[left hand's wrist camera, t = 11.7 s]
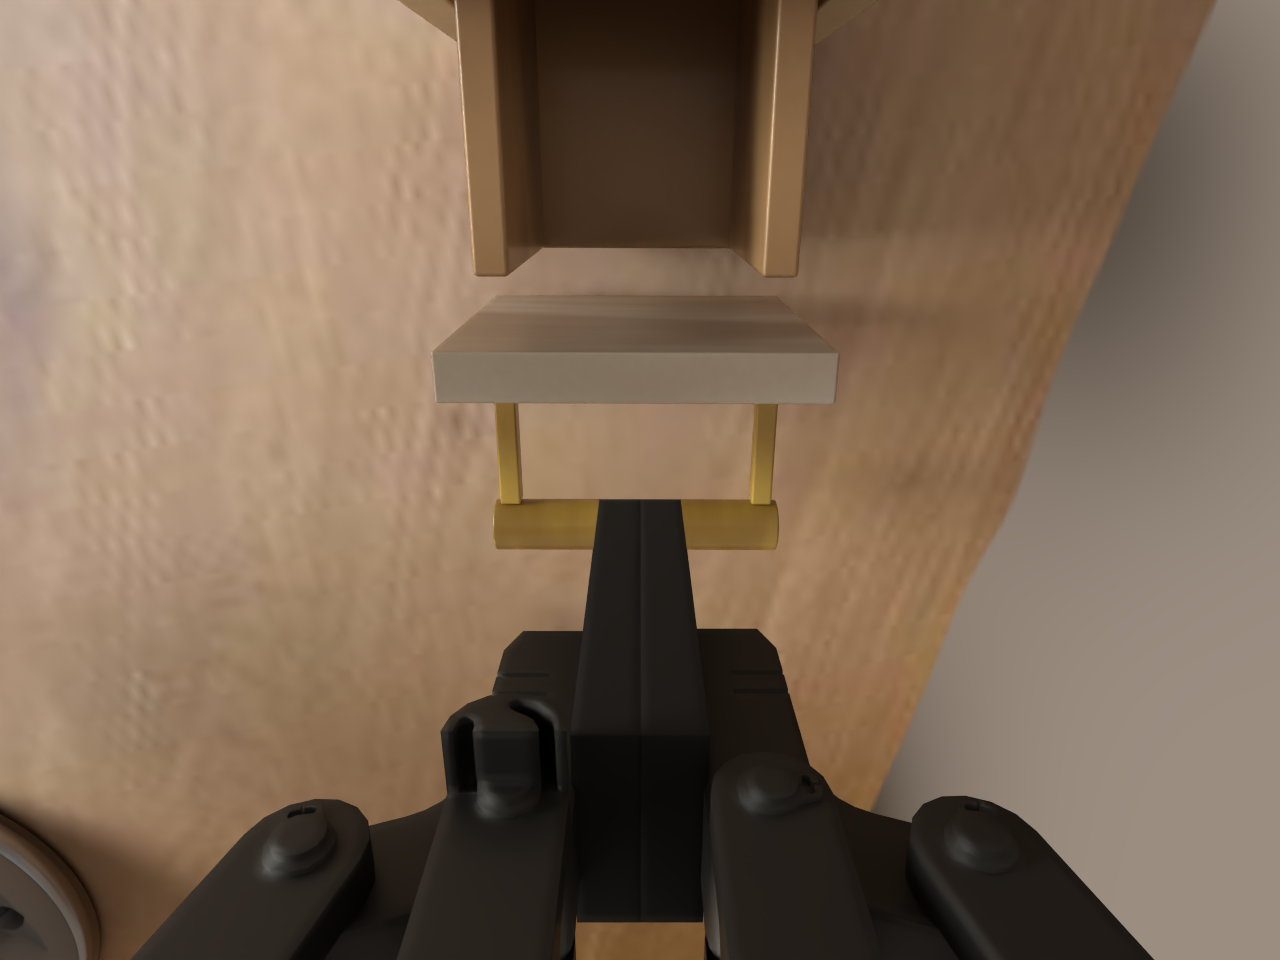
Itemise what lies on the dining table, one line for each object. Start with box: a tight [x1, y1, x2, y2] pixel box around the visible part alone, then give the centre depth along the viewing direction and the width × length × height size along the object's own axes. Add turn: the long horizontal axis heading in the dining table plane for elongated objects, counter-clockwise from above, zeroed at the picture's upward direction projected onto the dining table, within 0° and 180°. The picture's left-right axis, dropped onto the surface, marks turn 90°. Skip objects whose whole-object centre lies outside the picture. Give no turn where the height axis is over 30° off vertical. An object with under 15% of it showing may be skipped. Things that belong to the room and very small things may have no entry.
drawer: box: [431, 0, 840, 550], centre depth 21 cm, size 22×9×9 cm, turn 0°
